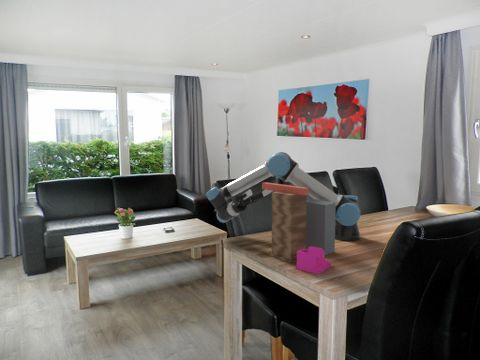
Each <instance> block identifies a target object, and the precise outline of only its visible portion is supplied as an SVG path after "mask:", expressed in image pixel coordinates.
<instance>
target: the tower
mask: <svg viewBox="0 0 480 360" xmlns="http://www.w3.org/2000/svg"><path fill="white" fill-rule="evenodd" d="M307 196H308V195H298V194H291V193H284V192H278V191H273V192H271V251H270V252H269V253H268V256H269V257H272V258H275V259H278V260H282V261H284V262H288V263H291V264H292V263H297V251H299V250H301V249H306V201H307Z"/></svg>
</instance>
